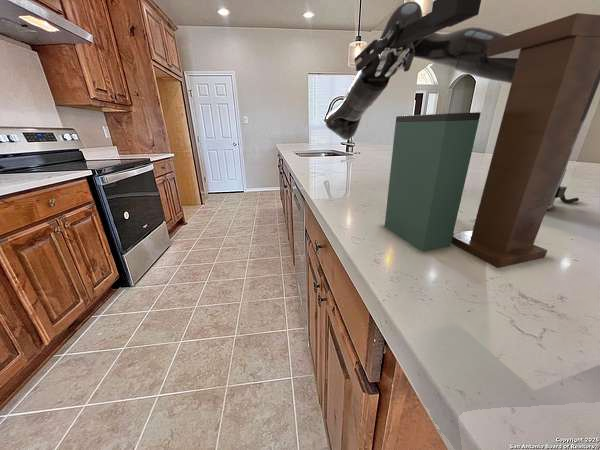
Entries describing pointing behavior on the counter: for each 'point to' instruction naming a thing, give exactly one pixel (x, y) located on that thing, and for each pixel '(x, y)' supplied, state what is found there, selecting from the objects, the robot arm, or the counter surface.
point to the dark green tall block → (429, 176)
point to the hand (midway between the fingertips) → (409, 25)
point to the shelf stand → (533, 135)
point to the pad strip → (438, 19)
